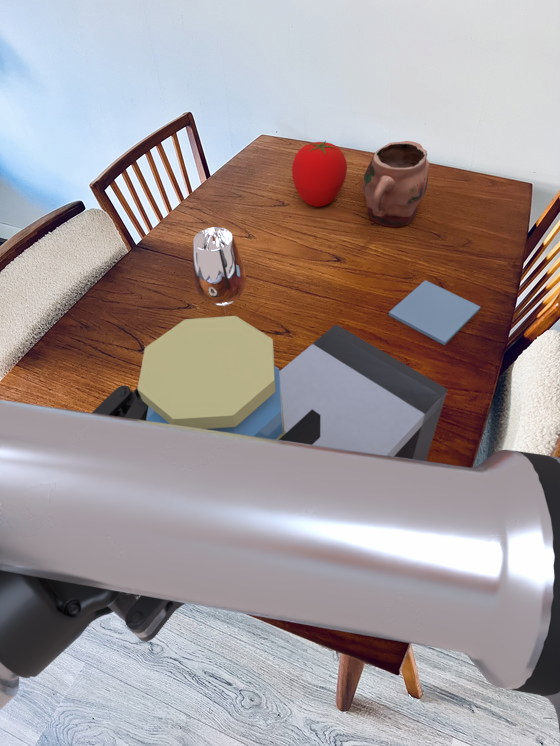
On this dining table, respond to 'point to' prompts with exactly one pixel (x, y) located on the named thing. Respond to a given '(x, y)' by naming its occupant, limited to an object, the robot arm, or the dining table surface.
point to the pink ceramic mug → (396, 183)
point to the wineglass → (218, 267)
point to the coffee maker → (361, 397)
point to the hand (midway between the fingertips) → (269, 390)
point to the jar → (214, 378)
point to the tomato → (319, 172)
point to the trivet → (434, 312)
